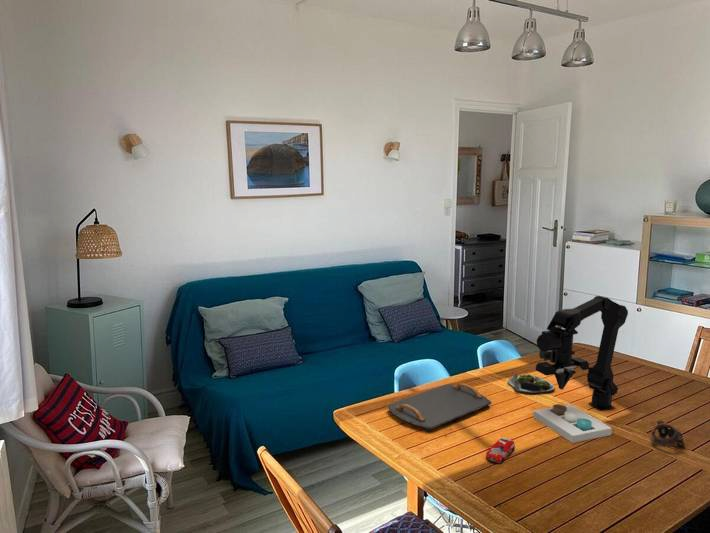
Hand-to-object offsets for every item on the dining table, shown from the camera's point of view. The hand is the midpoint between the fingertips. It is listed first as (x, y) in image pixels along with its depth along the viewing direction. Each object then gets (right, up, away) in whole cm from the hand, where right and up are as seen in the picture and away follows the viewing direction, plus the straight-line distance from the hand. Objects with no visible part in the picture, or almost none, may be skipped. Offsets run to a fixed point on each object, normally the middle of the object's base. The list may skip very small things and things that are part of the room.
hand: (561, 389), depth 189 cm
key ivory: (+2, -11, -4) cm, 12 cm away
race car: (-28, -16, -22) cm, 39 cm away
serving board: (-42, -11, +10) cm, 44 cm away
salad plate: (-1, -7, +30) cm, 31 cm away
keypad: (+2, -12, -4) cm, 13 cm away
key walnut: (0, -10, +2) cm, 10 cm away
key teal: (+4, -12, -10) cm, 16 cm away
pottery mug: (+27, -14, -17) cm, 35 cm away
